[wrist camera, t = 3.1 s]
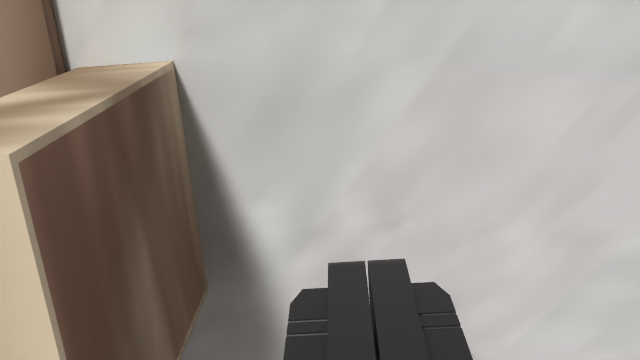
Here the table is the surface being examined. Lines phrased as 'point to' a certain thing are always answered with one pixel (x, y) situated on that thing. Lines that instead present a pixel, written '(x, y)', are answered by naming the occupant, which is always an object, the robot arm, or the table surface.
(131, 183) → the wooden block
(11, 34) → the walnut board
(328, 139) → the table surface
